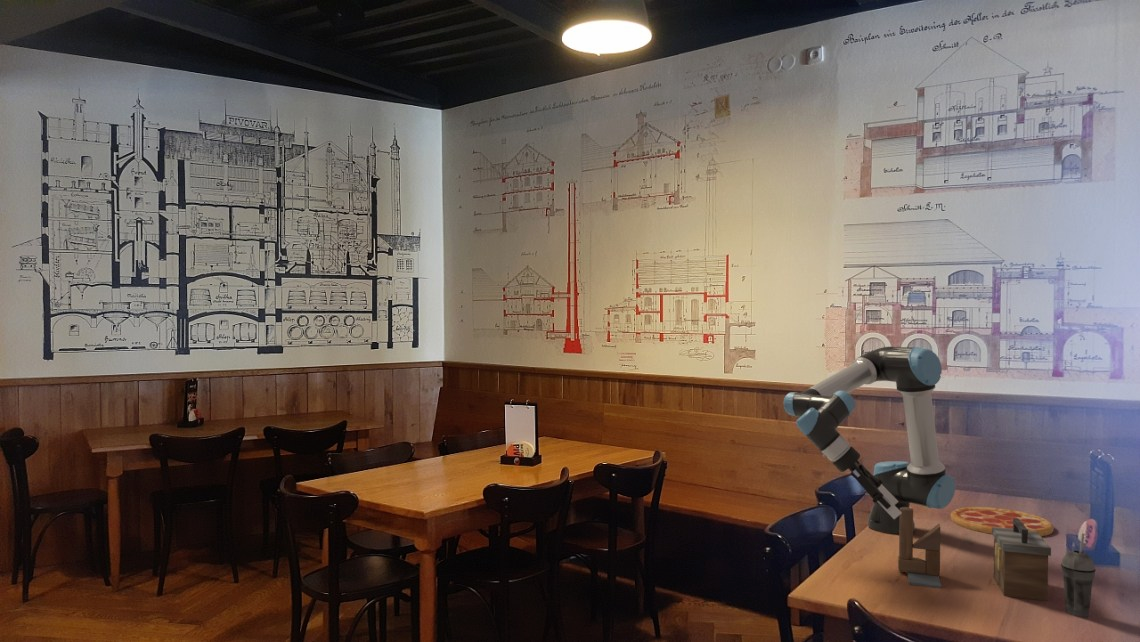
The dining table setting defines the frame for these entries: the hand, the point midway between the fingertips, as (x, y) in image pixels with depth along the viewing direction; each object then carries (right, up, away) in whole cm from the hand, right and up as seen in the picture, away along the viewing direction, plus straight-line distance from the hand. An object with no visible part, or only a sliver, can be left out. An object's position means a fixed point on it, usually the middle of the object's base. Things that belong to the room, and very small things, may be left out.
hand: (896, 510), depth 219 cm
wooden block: (+7, -18, 0) cm, 19 cm away
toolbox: (+29, -19, -10) cm, 36 cm away
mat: (+7, -18, -2) cm, 20 cm away
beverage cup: (+33, -19, -28) cm, 47 cm away
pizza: (+60, -19, +54) cm, 83 cm away
